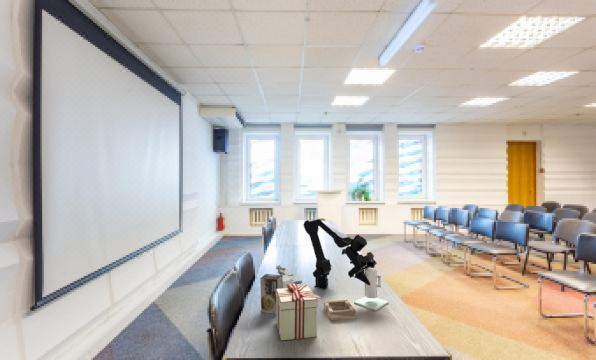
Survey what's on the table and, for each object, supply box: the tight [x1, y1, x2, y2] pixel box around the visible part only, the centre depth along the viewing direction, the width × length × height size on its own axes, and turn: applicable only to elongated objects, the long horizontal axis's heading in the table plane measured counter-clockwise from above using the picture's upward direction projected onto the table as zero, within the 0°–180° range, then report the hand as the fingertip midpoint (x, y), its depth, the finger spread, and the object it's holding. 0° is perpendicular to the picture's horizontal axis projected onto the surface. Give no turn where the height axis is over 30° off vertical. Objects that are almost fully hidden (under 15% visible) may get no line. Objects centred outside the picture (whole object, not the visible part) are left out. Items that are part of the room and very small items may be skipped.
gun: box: [276, 264, 303, 284], centre depth 188 cm, size 36×4×10 cm
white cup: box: [282, 276, 292, 288], centre depth 152 cm, size 8×8×10 cm
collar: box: [323, 299, 357, 321], centre depth 133 cm, size 11×11×4 cm
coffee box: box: [259, 273, 283, 314], centre depth 137 cm, size 9×6×16 cm
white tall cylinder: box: [364, 267, 382, 298], centre depth 142 cm, size 8×6×13 cm
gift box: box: [275, 283, 323, 341], centre depth 120 cm, size 17×18×17 cm
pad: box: [353, 295, 389, 312], centre depth 143 cm, size 12×12×1 cm
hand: (373, 283), depth 142 cm, fingers closed on white tall cylinder, 6 cm apart
